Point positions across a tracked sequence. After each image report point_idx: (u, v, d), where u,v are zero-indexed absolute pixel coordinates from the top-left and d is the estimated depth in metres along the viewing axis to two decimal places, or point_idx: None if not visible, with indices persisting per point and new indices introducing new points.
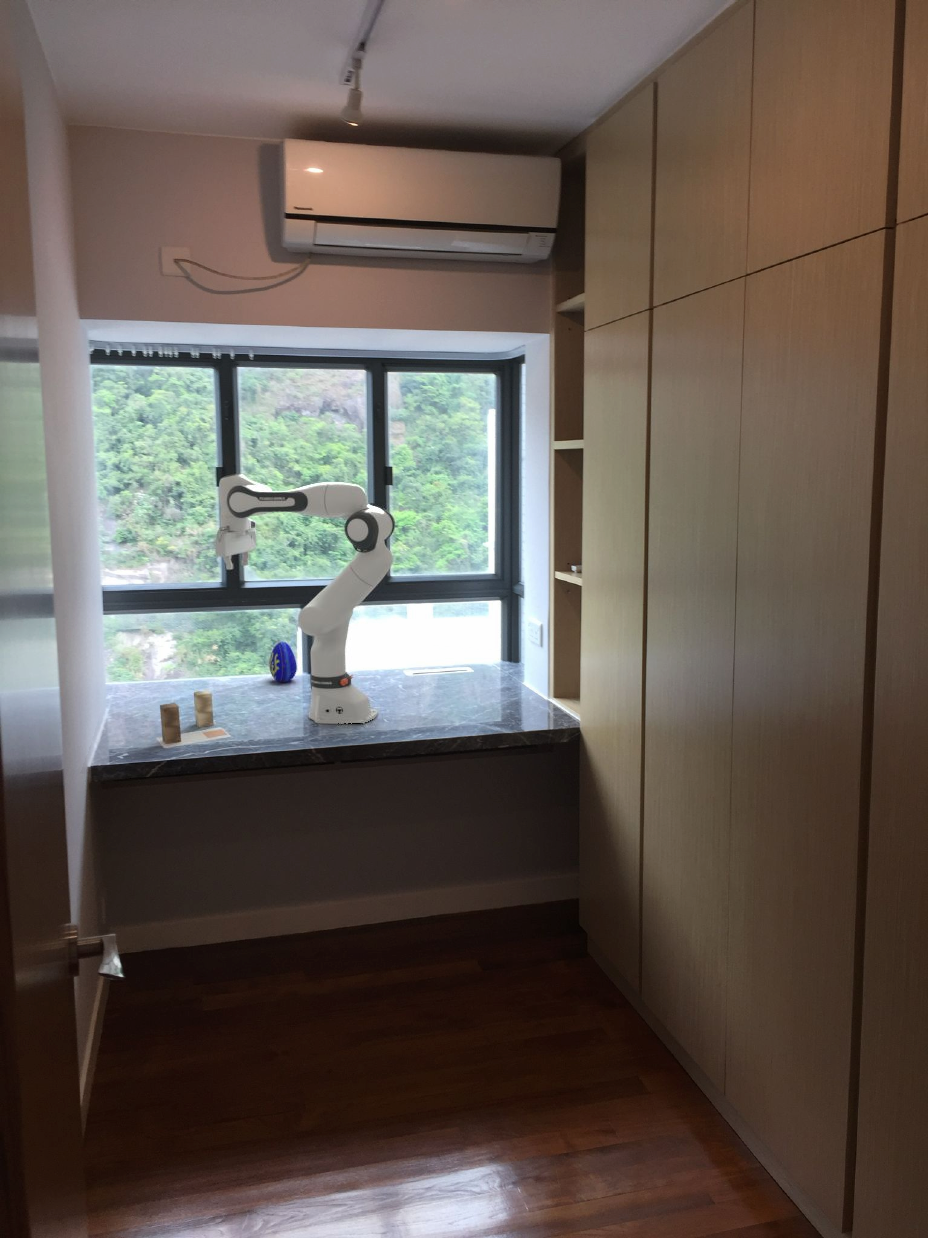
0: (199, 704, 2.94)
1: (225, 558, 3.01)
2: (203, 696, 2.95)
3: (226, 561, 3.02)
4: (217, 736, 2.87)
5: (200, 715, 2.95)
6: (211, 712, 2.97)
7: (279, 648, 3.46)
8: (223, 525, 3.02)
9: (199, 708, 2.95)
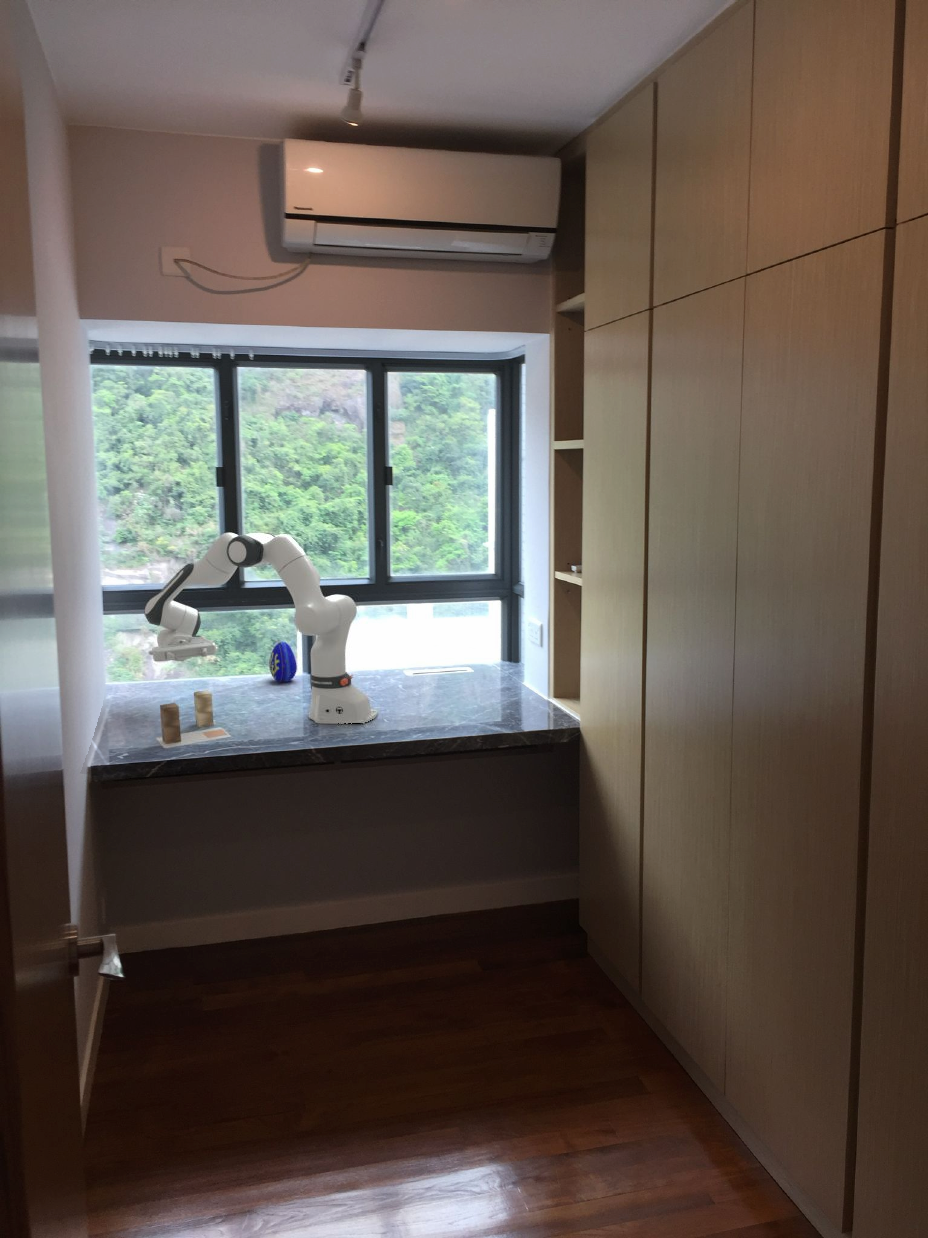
0: (199, 704, 2.94)
1: (166, 657, 3.05)
2: (203, 696, 2.95)
3: (168, 657, 3.04)
4: (217, 736, 2.87)
5: (200, 715, 2.95)
6: (211, 712, 2.97)
7: (279, 648, 3.46)
8: None
9: (199, 708, 2.95)
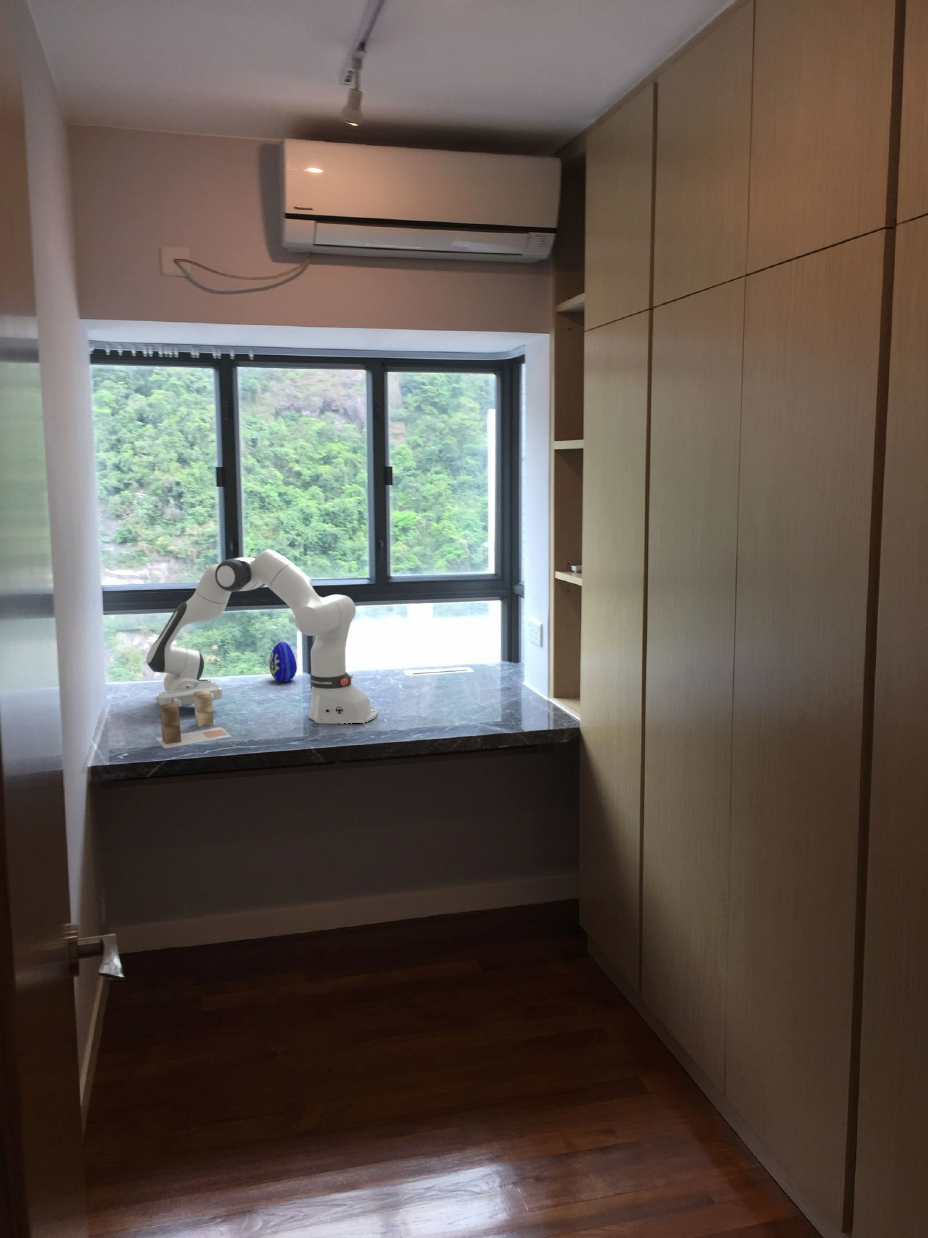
0: (199, 704, 2.94)
1: None
2: (203, 696, 2.95)
3: None
4: (217, 736, 2.87)
5: (200, 715, 2.95)
6: (211, 712, 2.97)
7: (279, 648, 3.46)
8: None
9: (199, 708, 2.95)
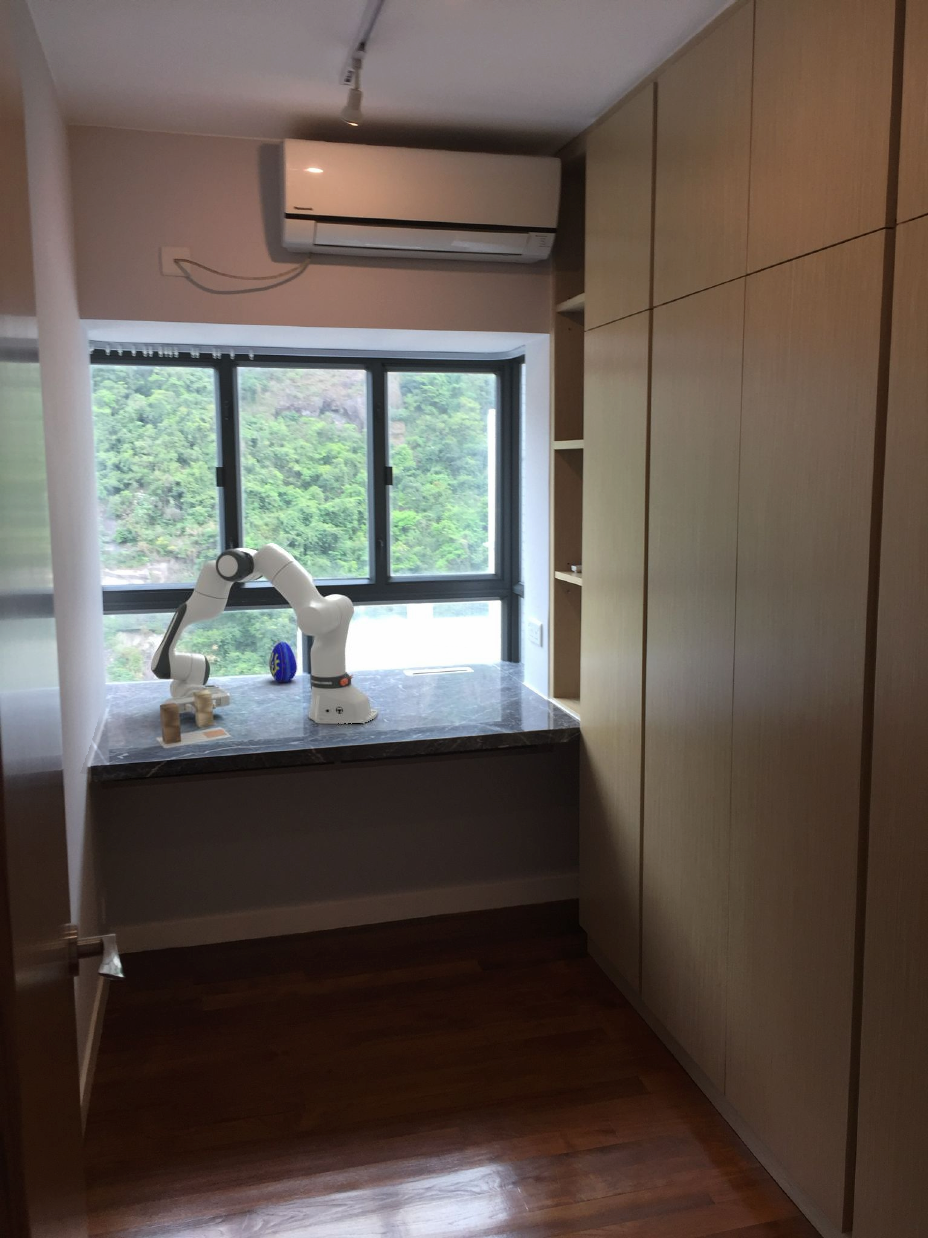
0: (199, 704, 2.94)
1: (186, 708, 2.98)
2: (203, 696, 2.95)
3: (188, 709, 2.97)
4: (217, 736, 2.87)
5: (200, 715, 2.95)
6: (211, 712, 2.97)
7: (279, 648, 3.46)
8: None
9: (199, 708, 2.95)
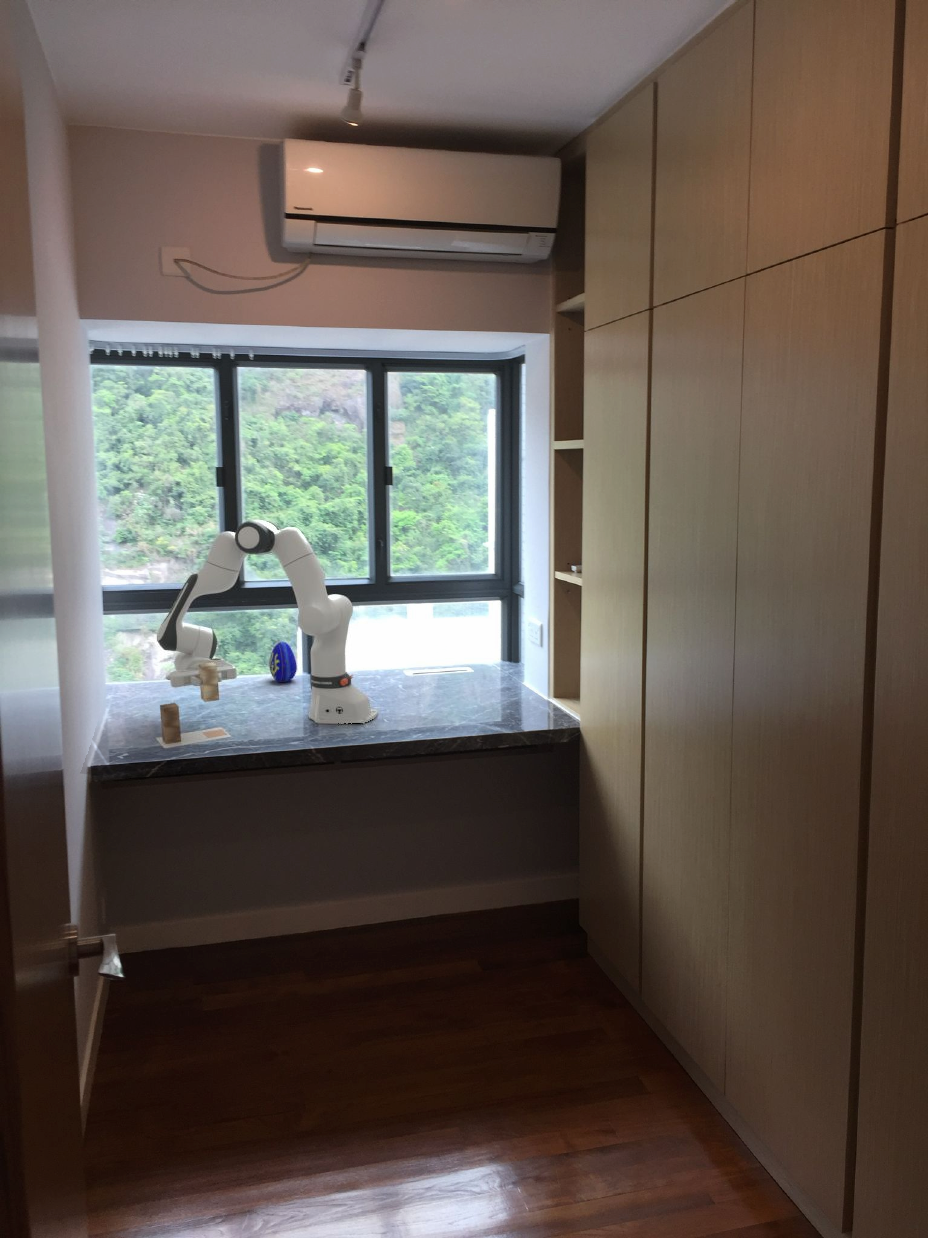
0: (204, 676, 2.86)
1: (191, 681, 2.89)
2: (208, 668, 2.86)
3: (193, 681, 2.88)
4: (217, 736, 2.87)
5: (205, 687, 2.87)
6: (216, 684, 2.88)
7: (279, 648, 3.46)
8: None
9: (204, 680, 2.86)
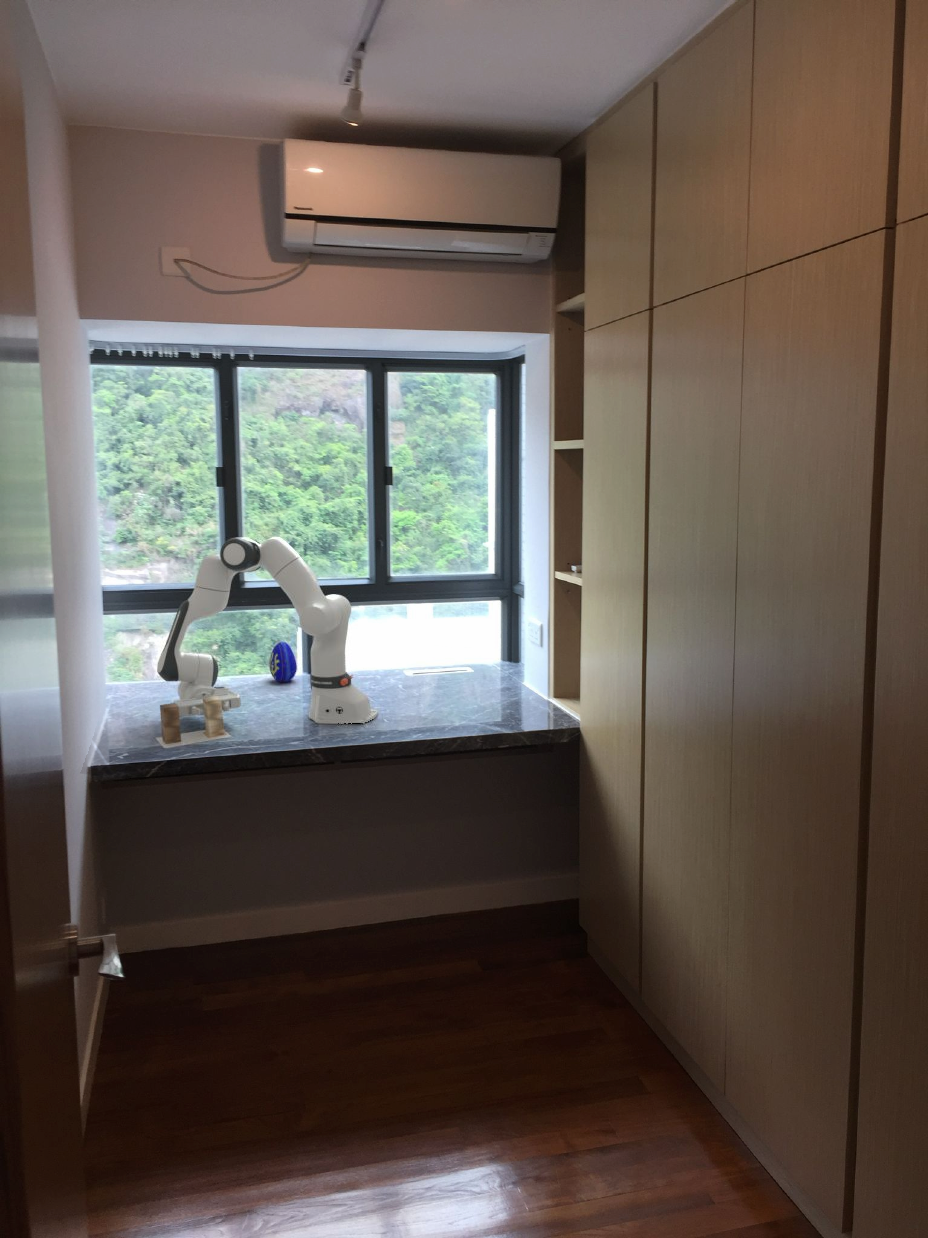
0: (209, 711, 2.85)
1: (192, 711, 2.88)
2: (212, 702, 2.85)
3: (194, 712, 2.87)
4: (217, 736, 2.87)
5: (210, 722, 2.86)
6: (221, 719, 2.87)
7: (279, 648, 3.46)
8: None
9: (209, 715, 2.85)
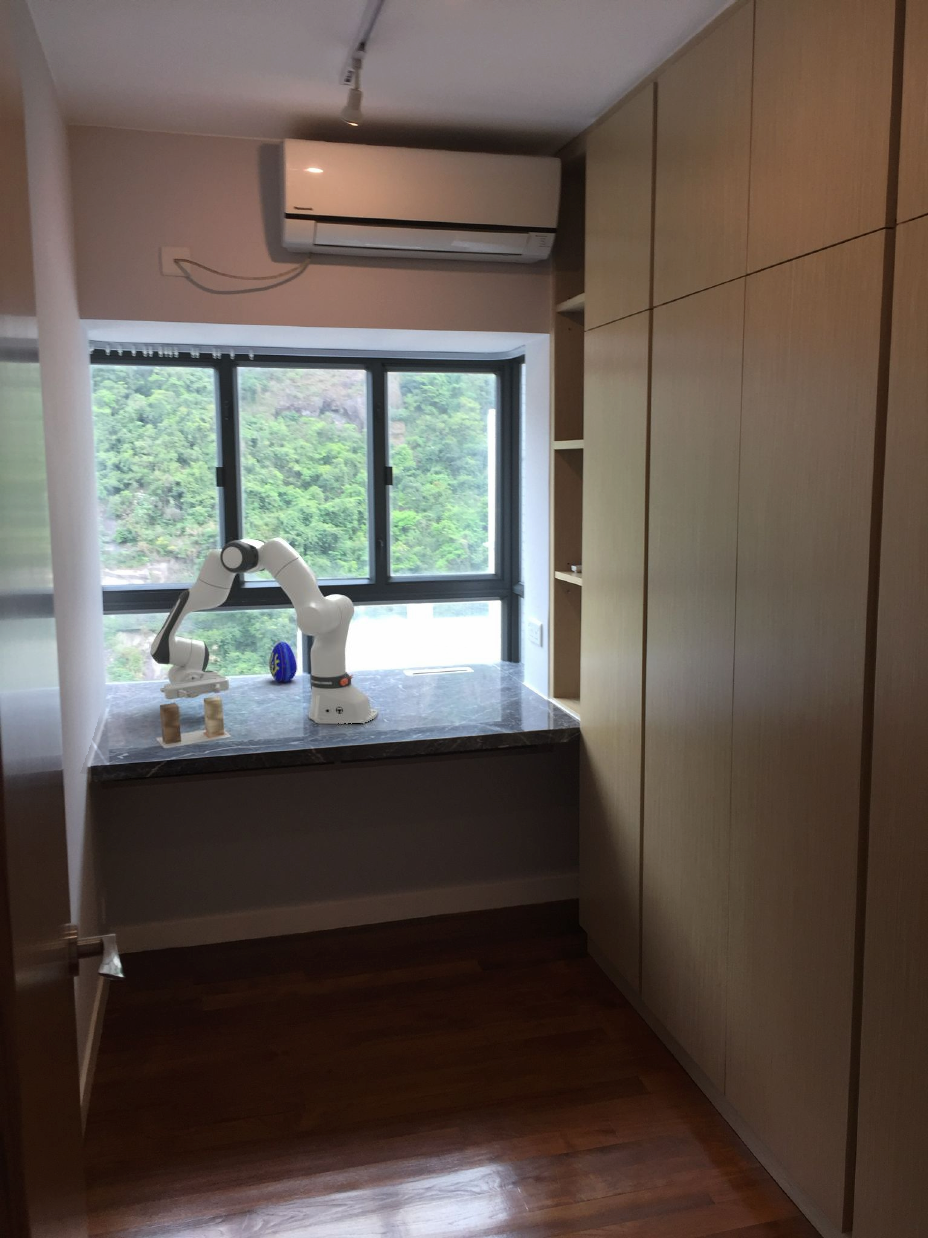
0: (209, 711, 2.85)
1: (179, 694, 2.97)
2: (213, 702, 2.85)
3: (181, 695, 2.97)
4: (217, 736, 2.87)
5: (210, 722, 2.86)
6: (221, 719, 2.88)
7: (279, 648, 3.46)
8: None
9: (209, 715, 2.85)
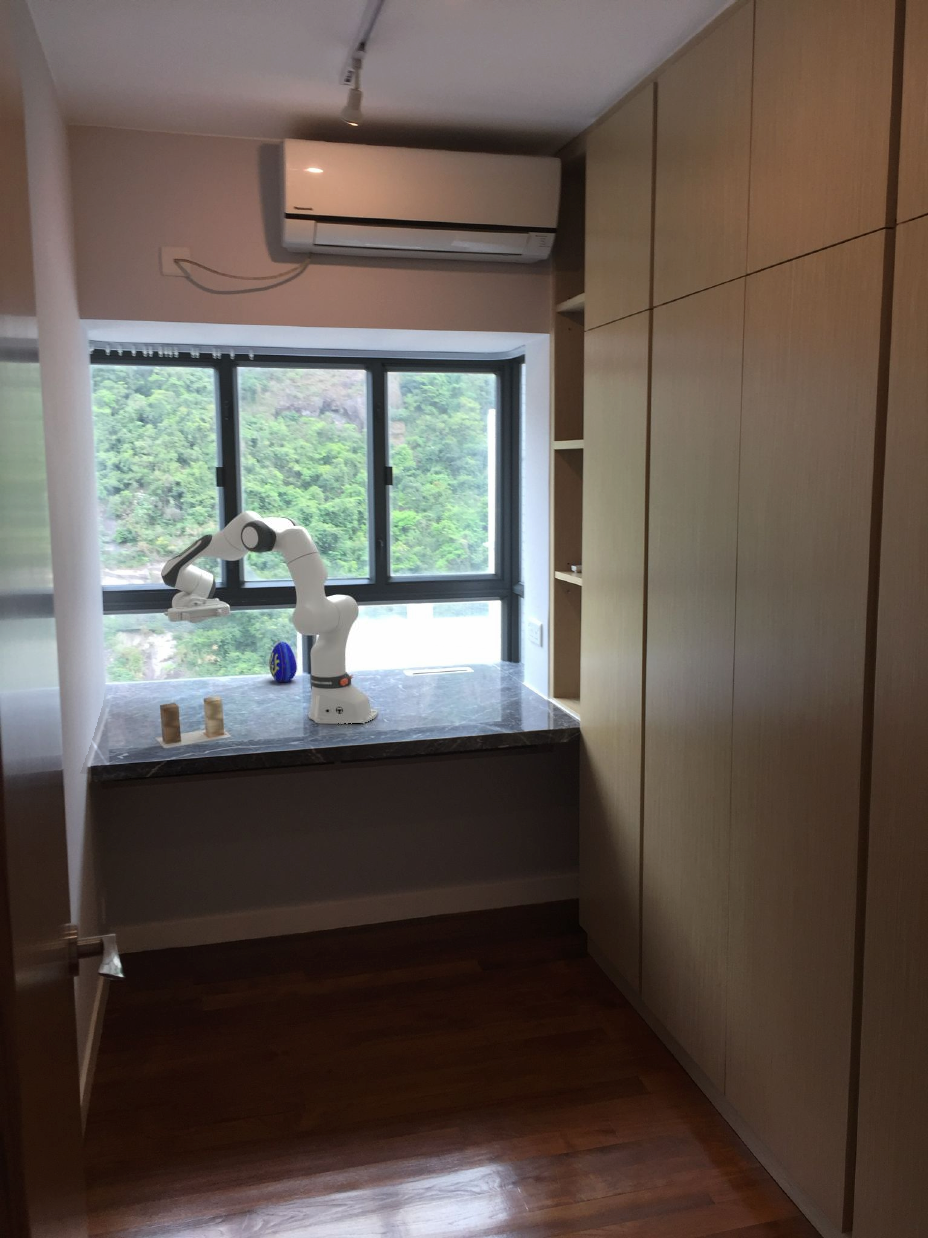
0: (209, 711, 2.85)
1: (182, 617, 3.10)
2: (213, 702, 2.85)
3: (184, 617, 3.09)
4: (217, 736, 2.87)
5: (210, 722, 2.86)
6: (221, 719, 2.88)
7: (279, 648, 3.46)
8: None
9: (209, 715, 2.85)
